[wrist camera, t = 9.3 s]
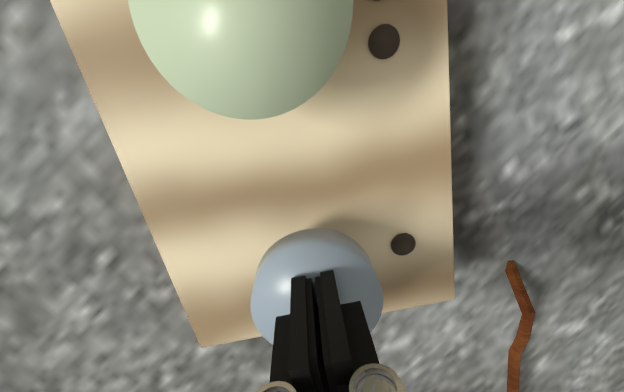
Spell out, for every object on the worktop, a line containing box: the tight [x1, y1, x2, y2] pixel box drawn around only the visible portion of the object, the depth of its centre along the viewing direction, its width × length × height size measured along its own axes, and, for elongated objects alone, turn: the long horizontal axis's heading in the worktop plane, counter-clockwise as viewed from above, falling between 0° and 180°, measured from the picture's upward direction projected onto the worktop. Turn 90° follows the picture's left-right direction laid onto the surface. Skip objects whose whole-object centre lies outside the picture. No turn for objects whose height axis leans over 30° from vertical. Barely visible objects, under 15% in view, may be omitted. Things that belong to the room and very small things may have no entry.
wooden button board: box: [50, 0, 455, 348], centre depth 12 cm, size 28×14×4 cm, turn 11°
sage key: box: [128, 0, 353, 120], centre depth 8 cm, size 5×5×2 cm
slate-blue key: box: [250, 229, 383, 345], centre depth 12 cm, size 5×5×2 cm
